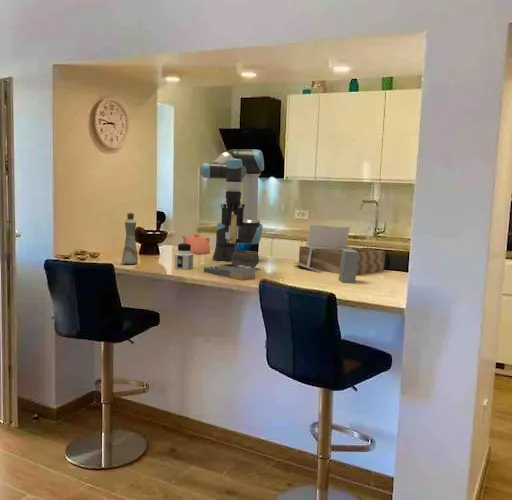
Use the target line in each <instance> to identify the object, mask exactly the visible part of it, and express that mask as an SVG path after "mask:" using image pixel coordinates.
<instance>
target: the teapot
mask: <svg viewBox="0 0 512 500" xmlns="http://www.w3.org/2000/svg"><path fill="white" fill-rule="evenodd" d="M181 237H182V239H183V242H182V243H186V244H190V245H191V252H190V253H193V254H196V256H200V255H201V254H203V255H208V253H209V254H211V248H210V240H211V239H210V237H206V236H205V237H203V236H200V234H199V233H194V234H193V236H188V237H187V236H185V235H181Z"/></svg>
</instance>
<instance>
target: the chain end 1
mask: <svg viewBox="0 0 512 500" xmlns="http://www.w3.org/2000/svg"><path fill="white" fill-rule="evenodd" d="M203 272H204V273H207V274H211V275H216V276H222V277H226V278H230V272H228V271H223V270H219V265H210V266H205V267H203ZM230 279H231V278H230Z"/></svg>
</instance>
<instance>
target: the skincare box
mask: <svg viewBox="0 0 512 500" xmlns="http://www.w3.org/2000/svg"><path fill="white" fill-rule="evenodd" d="M357 262H358V252H357V251H355V250H349V249H342V254H341V263H340V272H339V274H338V281H339V282H341V283H343V284H355V283H356V277H357V275H356V271H357Z"/></svg>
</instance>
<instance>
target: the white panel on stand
mask: <svg viewBox="0 0 512 500" xmlns="http://www.w3.org/2000/svg"><path fill="white" fill-rule="evenodd" d="M350 228H351V227H350V226H332V225H331V226H329V225H323V224H322V225H321V224H311V223H310V224H309V229H308V235H307V236H308V237H307V242H305V243H304V246H307V247H308V248H310V250H309V256H308V263H307V265H304V264H301V263H299V261H298V262H293V264H295V265H297V266H299V265H300V266H299V267H302V266H303V267H305V268H304V269H307V268H308V270H311V271H314V272H317V273H319V274H320V273H325V271H322V270H319V269H316V268H313V267H310V260H311V254H312V250H315V249H324V250H331V251H339V250H342V249H349V250H352V247H353V246H349V245H348V241H349V233H350Z"/></svg>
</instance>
